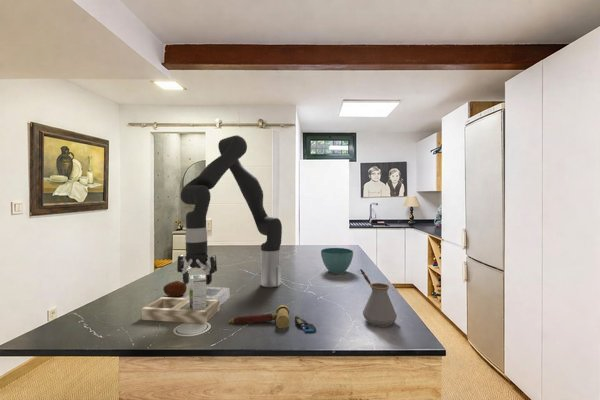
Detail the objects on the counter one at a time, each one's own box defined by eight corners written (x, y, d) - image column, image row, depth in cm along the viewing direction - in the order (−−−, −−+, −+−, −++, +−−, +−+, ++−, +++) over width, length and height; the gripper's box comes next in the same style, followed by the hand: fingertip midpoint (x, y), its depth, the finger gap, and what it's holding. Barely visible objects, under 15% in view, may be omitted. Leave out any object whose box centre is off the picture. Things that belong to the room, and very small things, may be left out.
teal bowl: (355, 276, 162) (355, 253, 161) (321, 276, 162) (321, 253, 162) (350, 268, 180) (350, 247, 180) (320, 268, 180) (320, 247, 180)
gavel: (225, 320, 99) (231, 309, 109) (226, 334, 99) (231, 321, 109) (289, 314, 100) (288, 304, 110) (290, 328, 101) (289, 316, 111)
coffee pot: (403, 327, 101) (403, 283, 100) (372, 331, 98) (372, 285, 98) (373, 304, 121) (373, 267, 121) (346, 307, 119) (346, 269, 118)
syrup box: (189, 314, 112) (188, 275, 112) (205, 311, 114) (205, 273, 114) (189, 320, 107) (189, 279, 107) (207, 317, 109) (206, 277, 109)
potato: (181, 298, 128) (181, 283, 128) (160, 298, 129) (160, 283, 129) (188, 293, 135) (188, 279, 135) (168, 293, 136) (168, 278, 136)
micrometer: (317, 327, 97) (302, 330, 96) (317, 333, 98) (302, 335, 96) (305, 313, 109) (292, 314, 107) (305, 318, 109) (292, 320, 107)
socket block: (229, 297, 130) (229, 287, 130) (217, 308, 117) (217, 298, 117) (201, 295, 132) (201, 286, 132) (186, 306, 119) (185, 296, 119)
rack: (219, 310, 116) (219, 299, 116) (205, 323, 104) (205, 312, 104) (161, 306, 119) (161, 296, 119) (141, 319, 107) (141, 308, 107)
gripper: (219, 238, 113) (220, 281, 113) (183, 238, 114) (184, 280, 115) (210, 242, 105) (211, 287, 106) (172, 241, 107) (173, 286, 108)
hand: (197, 283), depth 110 cm, fingers open, 8 cm apart
